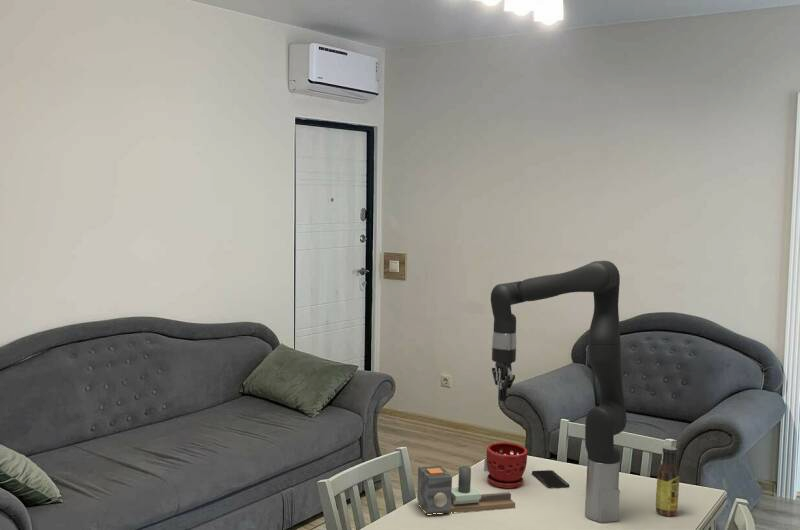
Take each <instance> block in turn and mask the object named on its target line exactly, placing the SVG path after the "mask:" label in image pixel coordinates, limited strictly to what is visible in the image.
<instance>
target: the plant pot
mask: <svg viewBox="0 0 800 530" xmlns="http://www.w3.org/2000/svg"><path fill="white" fill-rule="evenodd" d="M500 450H502V452H501V453H500ZM511 452H512V454H511ZM517 453H518V454H517ZM503 454H504V455H503ZM486 458H487V467H488V471H489V472H488V473H489V474H488V475H487V481H488V482H489V483H490V484H491V485H493V486H495V487H499V488H502V489H514V488H517V487H520V486H521V485H522V484H523V482H524V478H523V475H524V473H525V470H526V466H527V463H528V449H527V448H526V447H525V446H522V445H520V444H517V443H511V442H495V443H494V442H493V443H491V444H489V445H487V447H486Z"/></svg>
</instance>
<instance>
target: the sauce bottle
mask: <svg viewBox="0 0 800 530" xmlns="http://www.w3.org/2000/svg"><path fill="white" fill-rule="evenodd" d="M677 454H678V448H676V447H675V446H670V445H669V446H667V445H666V446H663V447H662V461H661V462H662V463H661V464H660V465H659V467H658V469H657V477H656V478H657V479H656V490H655V491H656V493H655V495H656V496H655V511H656V513H657V514H659V515H661V516H664V517H673V516H676V515H677V510H678V507H679V506H678V503H679V490H680V488H679V487H680V473H679V469H678V466H677Z"/></svg>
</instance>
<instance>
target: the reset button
mask: <svg viewBox="0 0 800 530" xmlns="http://www.w3.org/2000/svg"><path fill="white" fill-rule="evenodd" d="M426 472H427V473H428V474H429V475H437V474H444V472H443V471H442V470H441V469H440V468H432V469H426Z"/></svg>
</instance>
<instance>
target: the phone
mask: <svg viewBox="0 0 800 530" xmlns="http://www.w3.org/2000/svg"><path fill="white" fill-rule="evenodd" d="M531 475H532V476H533V477H534V478H535V477H536V478H537V480H538V481H539V482H540V483H541V484H542V485H543V486H544V487H545V488H546V489H558V488H559V489H569V488H570V483H569V482H567V481H566V480H565V479H564V478H562V477H561V476H560V475H559V474H558V473H556V472H555V471H554V470H550V469H548V470H532V471H531ZM536 478H535V479H536Z"/></svg>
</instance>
